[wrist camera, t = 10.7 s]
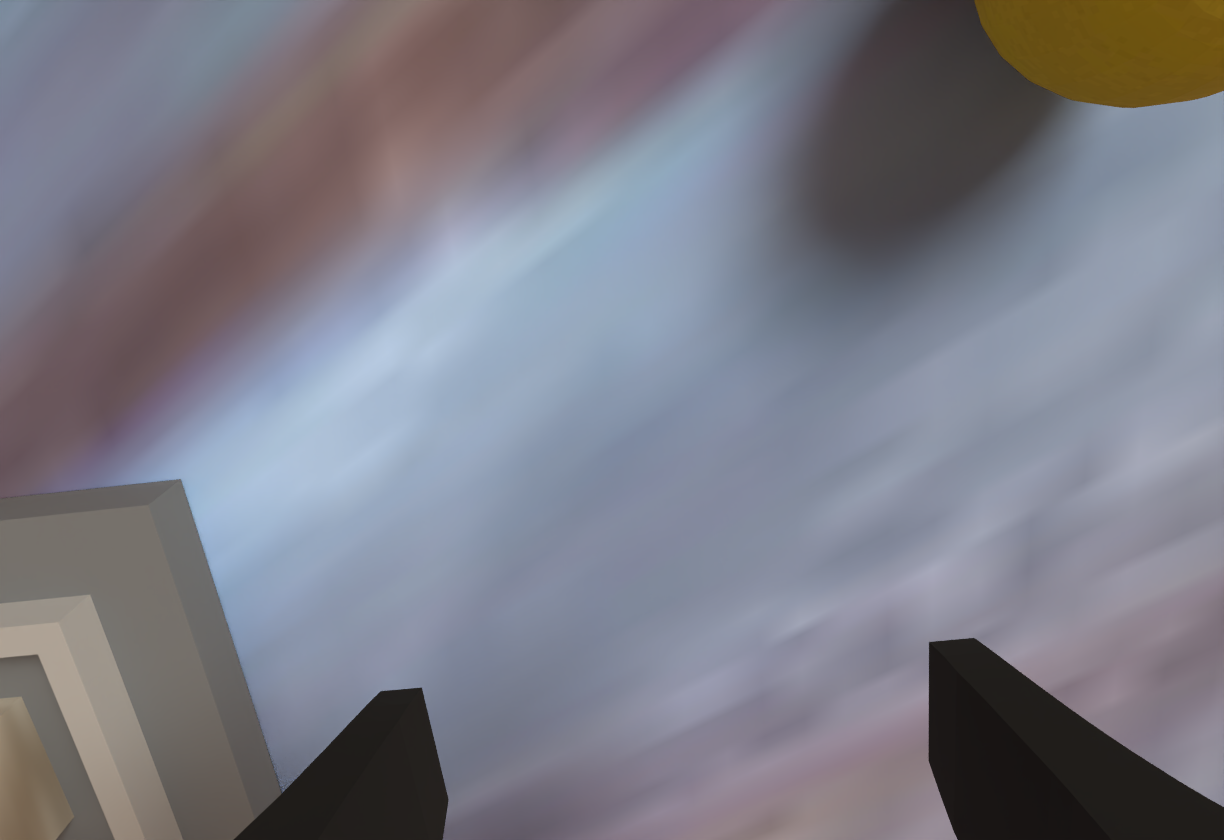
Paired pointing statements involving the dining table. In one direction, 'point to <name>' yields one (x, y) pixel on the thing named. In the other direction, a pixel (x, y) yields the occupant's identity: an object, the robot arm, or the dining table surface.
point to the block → (27, 780)
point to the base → (129, 665)
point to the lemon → (1112, 47)
